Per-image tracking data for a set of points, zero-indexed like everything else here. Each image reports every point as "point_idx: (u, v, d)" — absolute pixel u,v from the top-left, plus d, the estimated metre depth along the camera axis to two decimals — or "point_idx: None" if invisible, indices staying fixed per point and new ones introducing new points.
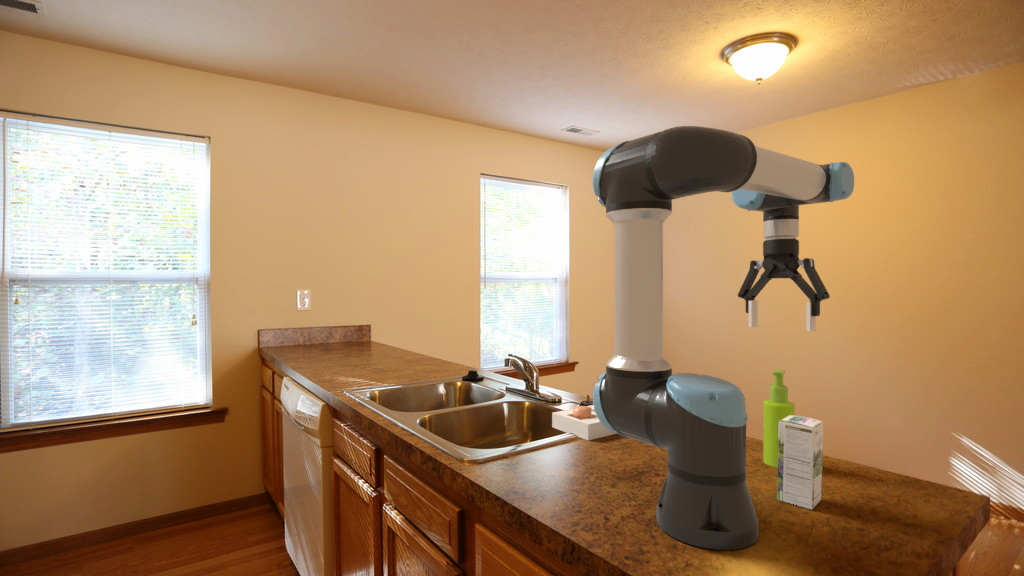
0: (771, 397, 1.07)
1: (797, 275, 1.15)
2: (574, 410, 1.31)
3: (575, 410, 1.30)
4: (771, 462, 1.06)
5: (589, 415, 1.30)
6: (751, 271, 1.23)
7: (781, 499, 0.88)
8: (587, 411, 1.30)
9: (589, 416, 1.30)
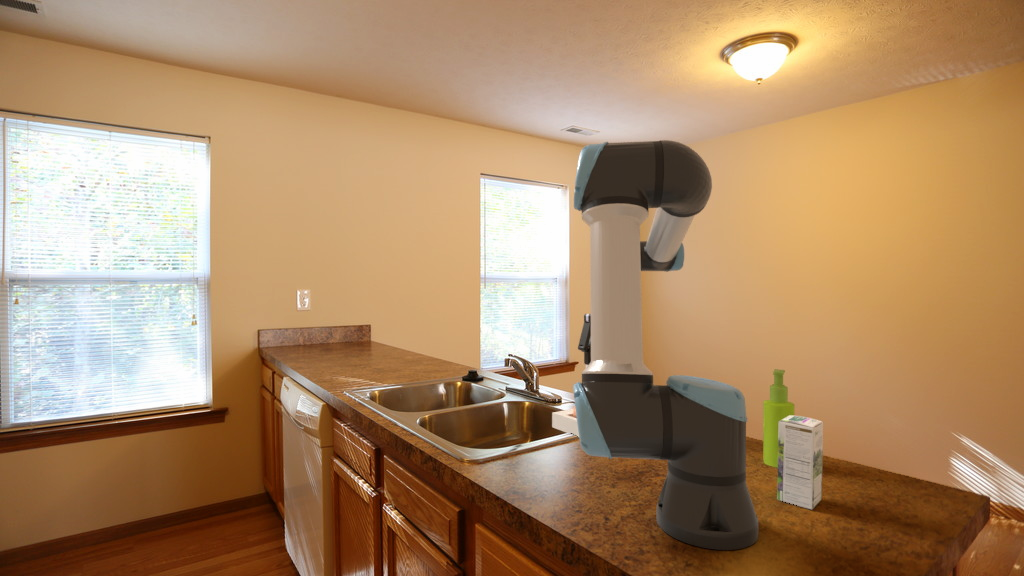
0: (771, 397, 1.07)
1: None
2: (574, 410, 1.31)
3: (575, 410, 1.30)
4: (771, 462, 1.06)
5: None
6: None
7: (781, 499, 0.88)
8: None
9: None
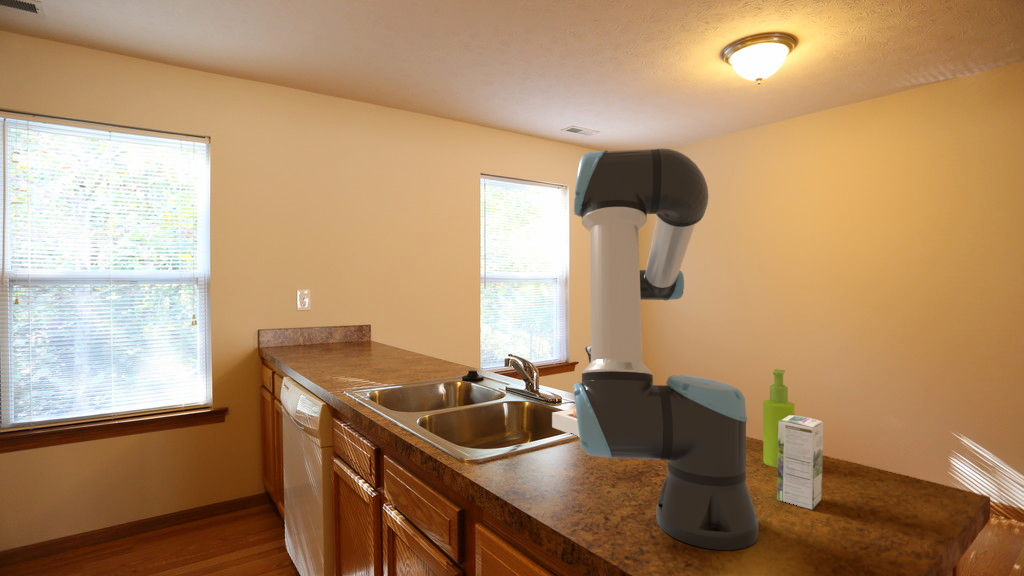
0: (771, 397, 1.07)
1: None
2: (574, 410, 1.31)
3: (575, 410, 1.30)
4: (771, 462, 1.06)
5: None
6: None
7: (781, 499, 0.88)
8: None
9: None
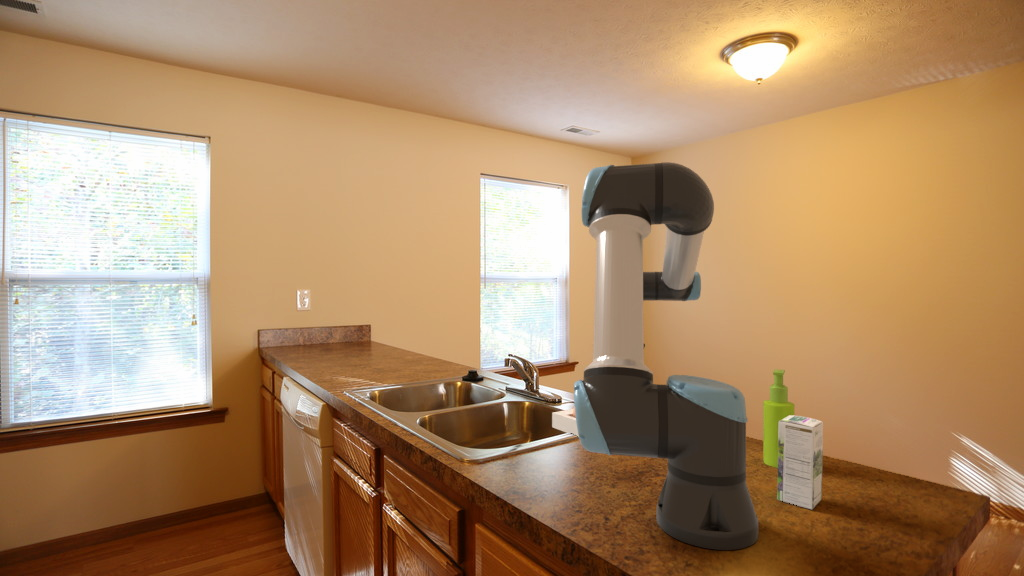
0: (771, 397, 1.07)
1: None
2: (574, 410, 1.31)
3: None
4: (771, 462, 1.06)
5: None
6: None
7: (781, 499, 0.88)
8: None
9: None
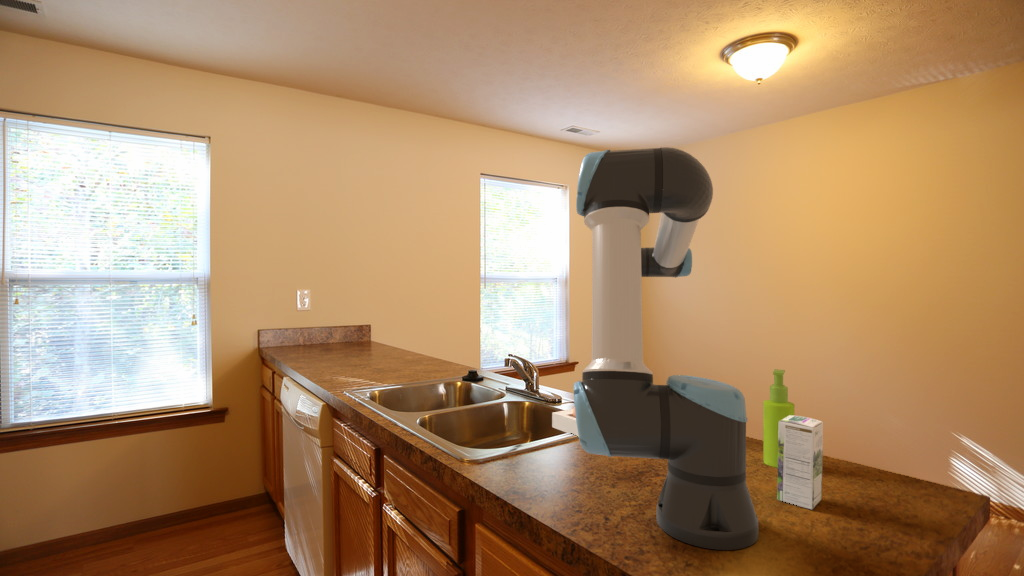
0: (771, 397, 1.07)
1: None
2: (574, 410, 1.31)
3: None
4: (771, 462, 1.06)
5: None
6: None
7: (781, 499, 0.88)
8: None
9: None
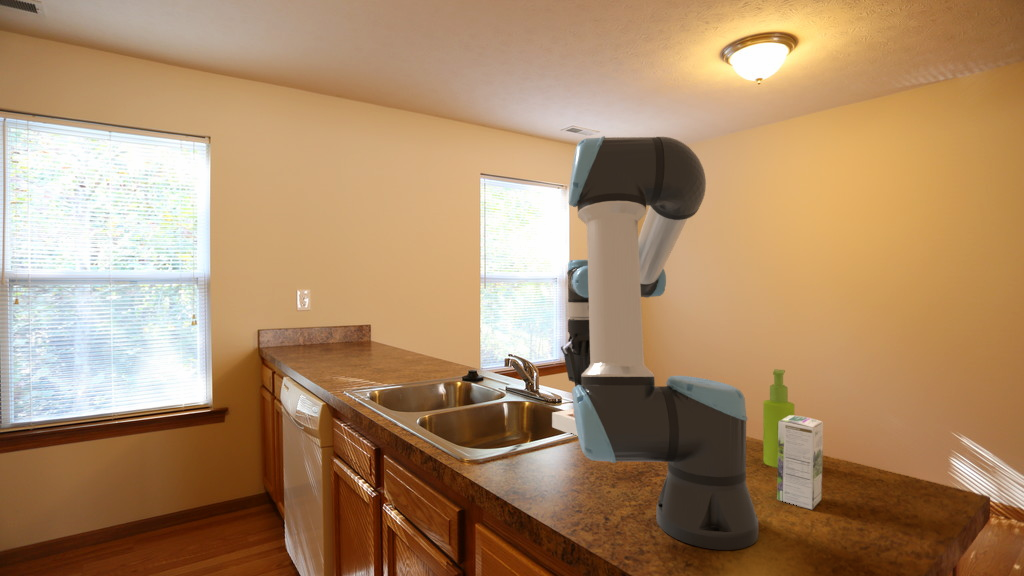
0: (771, 397, 1.07)
1: (576, 356, 1.31)
2: None
3: None
4: (771, 462, 1.06)
5: None
6: None
7: (781, 499, 0.88)
8: None
9: None
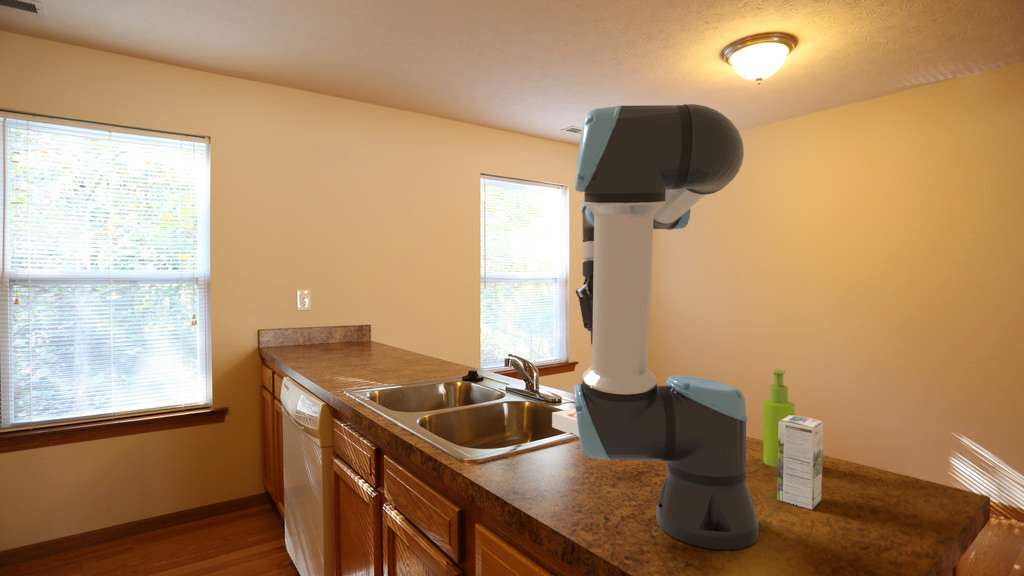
0: (771, 397, 1.07)
1: (591, 301, 1.19)
2: (574, 416, 1.31)
3: (575, 416, 1.30)
4: (771, 462, 1.06)
5: None
6: None
7: (781, 499, 0.88)
8: None
9: None
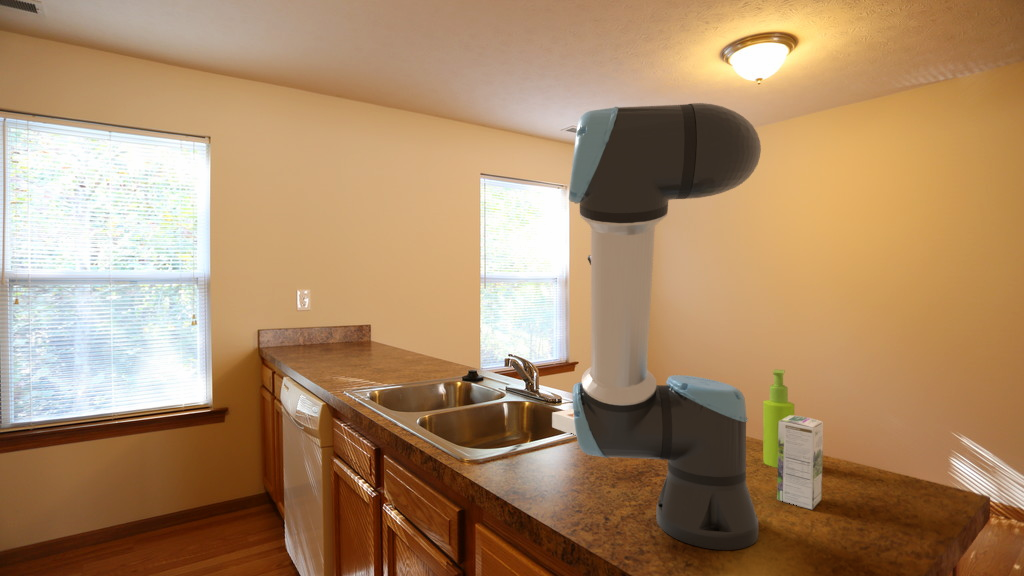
0: (771, 397, 1.07)
1: None
2: None
3: None
4: (771, 462, 1.06)
5: None
6: None
7: (781, 499, 0.88)
8: None
9: None
